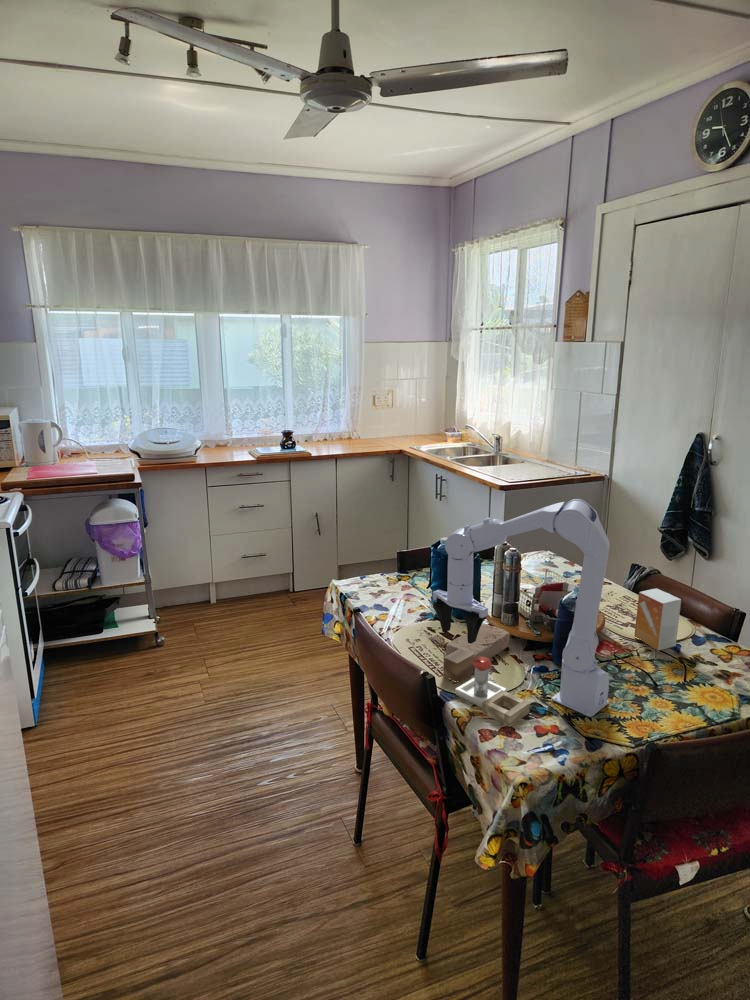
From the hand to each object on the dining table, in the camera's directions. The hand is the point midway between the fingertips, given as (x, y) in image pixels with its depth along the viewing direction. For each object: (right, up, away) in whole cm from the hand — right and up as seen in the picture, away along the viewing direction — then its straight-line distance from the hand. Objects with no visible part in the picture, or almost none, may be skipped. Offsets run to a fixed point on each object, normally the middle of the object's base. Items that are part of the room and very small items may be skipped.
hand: (458, 636), depth 148 cm
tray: (+4, -12, -6) cm, 14 cm away
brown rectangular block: (0, -10, +3) cm, 10 cm away
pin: (+4, -11, -6) cm, 14 cm away
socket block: (+8, -13, -13) cm, 20 cm away
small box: (+53, -5, +17) cm, 56 cm away
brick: (+6, -7, +13) cm, 16 cm away
